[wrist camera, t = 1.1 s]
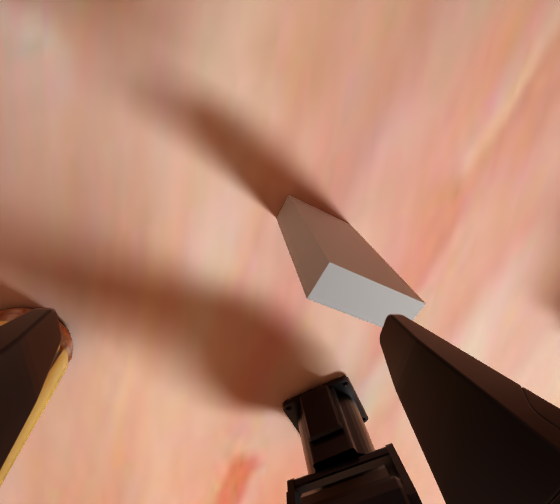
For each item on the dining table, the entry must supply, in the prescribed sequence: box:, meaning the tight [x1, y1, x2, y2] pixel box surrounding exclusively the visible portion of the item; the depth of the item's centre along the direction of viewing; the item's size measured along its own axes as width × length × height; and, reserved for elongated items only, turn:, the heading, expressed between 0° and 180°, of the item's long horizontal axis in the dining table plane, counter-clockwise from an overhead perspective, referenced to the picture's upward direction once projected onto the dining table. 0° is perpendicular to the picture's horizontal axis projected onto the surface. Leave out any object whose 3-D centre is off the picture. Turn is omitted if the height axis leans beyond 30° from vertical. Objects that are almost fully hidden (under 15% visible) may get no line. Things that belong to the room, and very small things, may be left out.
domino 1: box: [276, 195, 426, 327], centre depth 18 cm, size 2×5×10 cm, turn 63°
